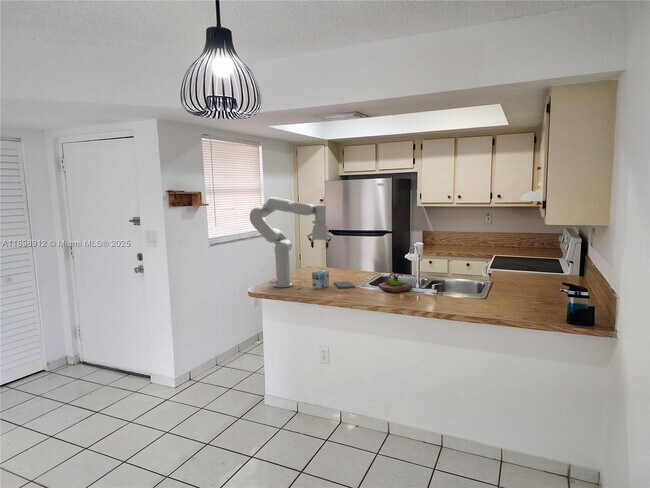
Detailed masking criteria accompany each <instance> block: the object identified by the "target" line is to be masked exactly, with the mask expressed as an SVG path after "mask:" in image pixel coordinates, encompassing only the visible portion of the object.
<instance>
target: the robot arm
mask: <svg viewBox="0 0 650 488" xmlns="http://www.w3.org/2000/svg"><path fill="white" fill-rule="evenodd" d="M326 209H327V208H326V205H325V204H321V203H320V204H319V203H317V204H314V203H313V204H312V203H302V202H297V201H293V200H292V199H286V198H281V197H277V196H270V197H268V198H267V199H266V201H265V202H264V203H263V204H261V205H256V206H254V207H252V209H250V212H249V221H250V223H251V225H252V226H253V227H254V228H255V229H256V231H257V232H258V233H259V235H261V236H262V237H263V238H264V239H265V240H266V241H267V242H268V243H271V244H272V243H273V244H274V256H275V275H276V276H275V277H276V278H275V279H274V280H269V284H274V287H276V288H289V287H292V286H293V283H292V282H291V269H290V268H291V267H290V266H291V264H290V263H291V261H290V254H289V252H290V251H291V250H292V248H293V244H292V242H291V241H290V239H289V238H288V237H287V236H286V235H285V234H284V233H283V231H281V230H280V229H279V228H275V227H272V226H271V225H270V224H269V223H268V222H267V221H266V220H264V218H266V217H268V216H269V215H270V214H272V213H274V212H275V211H280V212H284V213H289V214H290V213H291V214H296V215H302V216H313V215H314V216H313V217H314V219H313V220H312V221H311V223H312V224H313V225H312V231H311V233H309V234H307V236H306V237H307V239H308V240H309V241H310V247H311V248H312V249H313V248H314V243H315V242H314V241H320V240H321V241H325V249H328V248H329V243H330V241H332V239H333V238H334V237H333V235H331V234H330V233H328V227H327V224H326V222H327V221H326V219H327V218H326V214H327V213H326V212H327V211H326Z"/></svg>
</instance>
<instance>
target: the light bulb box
mask: <svg viewBox="0 0 650 488" xmlns="http://www.w3.org/2000/svg"><path fill="white" fill-rule="evenodd" d="M329 276H330V272H329V270H325V269H319V270H315V271H312V272H311V278H312V279H311V280H312V281H311V282H312V283H311V285H312V288H313V289H314V288H315V289H319V290H320V289H323V288H327V287H330V277H329Z"/></svg>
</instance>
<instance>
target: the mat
mask: <svg viewBox="0 0 650 488" xmlns="http://www.w3.org/2000/svg"><path fill="white" fill-rule="evenodd" d="M333 285H334V286H336V287H337V288H338V289H339V290H342V289H355V288H356V286H355V285H354V284H353V283H352V282H351V281H349V280H347V281H335V280H334V281H333Z"/></svg>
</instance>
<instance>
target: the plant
mask: <svg viewBox="0 0 650 488" xmlns="http://www.w3.org/2000/svg"><path fill="white" fill-rule="evenodd" d="M399 276H400V277H403V273H398V274H397V275H396V272H395V271H392V272H391V273H390V274H389V277H392V278H388V281H384V282H381V283H379V284H378V288H379V289H380V290H381V291H386V292H393V293H397V292H405V291H410V289H411V290H412V289H413V285H412V284H411V283H407V282H405V281H403V279H401V278H399Z"/></svg>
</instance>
